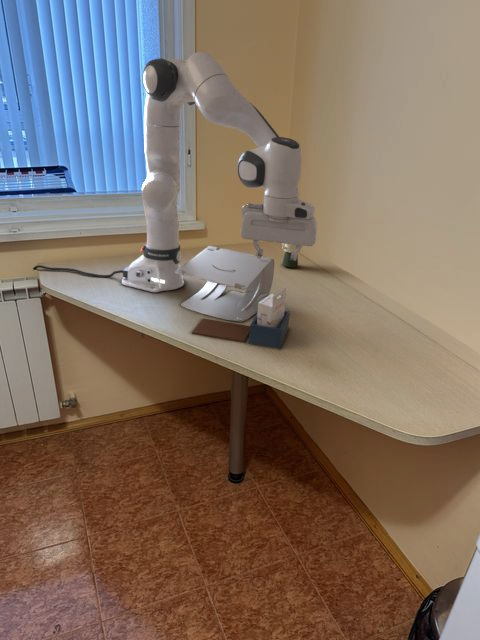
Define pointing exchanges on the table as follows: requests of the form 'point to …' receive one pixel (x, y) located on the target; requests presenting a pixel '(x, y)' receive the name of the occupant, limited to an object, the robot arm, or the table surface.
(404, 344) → the table surface
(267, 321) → the ink cartridge box
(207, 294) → the laptop stand
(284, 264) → the character mug
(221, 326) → the cork mat
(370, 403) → the table surface
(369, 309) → the table surface
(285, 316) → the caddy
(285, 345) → the table surface
